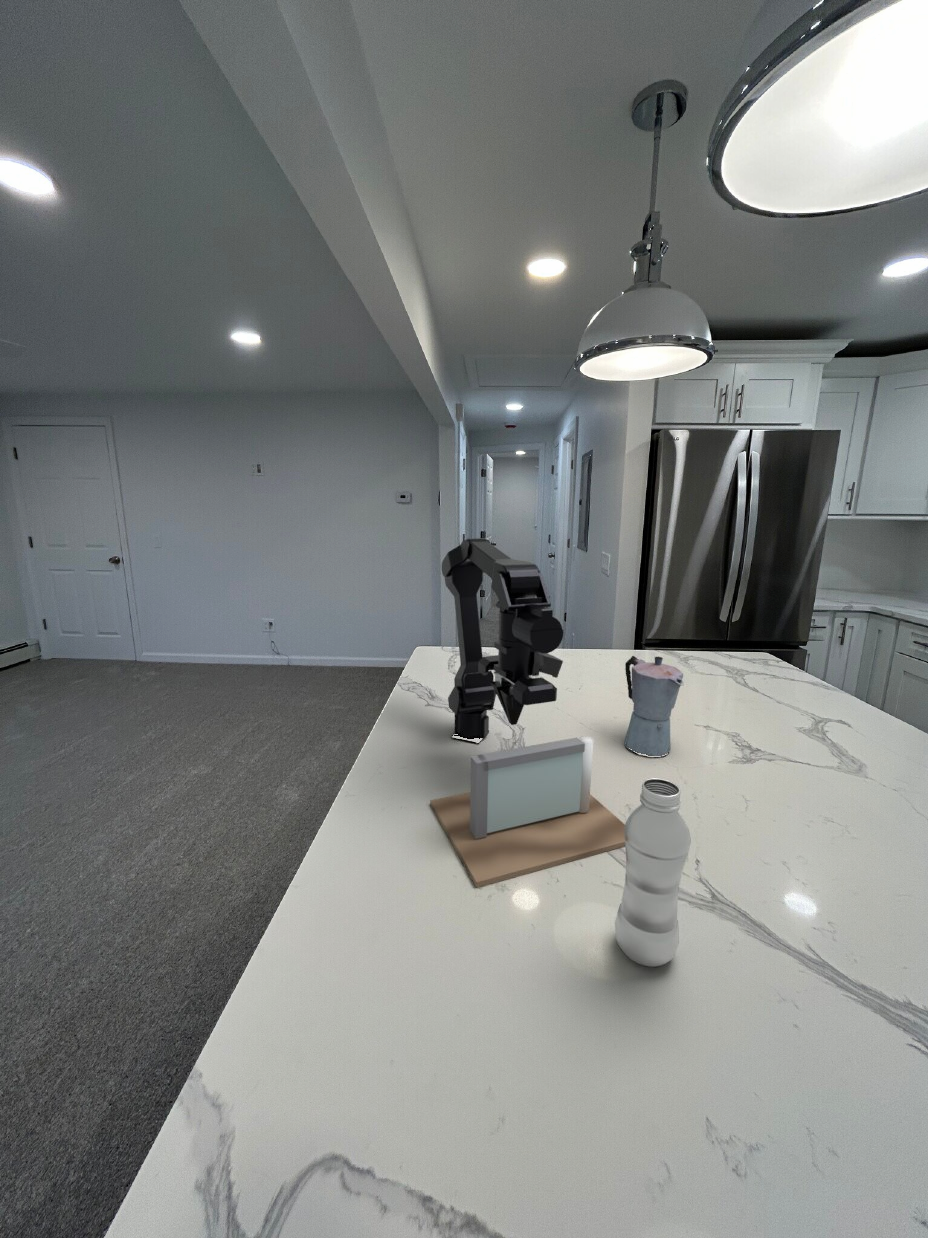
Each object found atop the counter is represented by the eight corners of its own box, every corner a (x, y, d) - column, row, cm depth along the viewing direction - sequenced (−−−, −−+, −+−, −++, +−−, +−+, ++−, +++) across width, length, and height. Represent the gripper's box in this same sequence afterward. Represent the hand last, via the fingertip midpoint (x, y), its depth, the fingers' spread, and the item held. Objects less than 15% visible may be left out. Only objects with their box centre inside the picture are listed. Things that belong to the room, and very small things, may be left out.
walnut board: (430, 804, 83) (430, 800, 83) (565, 776, 92) (565, 772, 92) (476, 888, 65) (476, 882, 65) (639, 842, 74) (639, 837, 74)
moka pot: (658, 769, 95) (668, 668, 91) (601, 737, 108) (607, 648, 104) (692, 759, 99) (703, 662, 95) (633, 729, 113) (640, 643, 108)
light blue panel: (583, 803, 82) (588, 735, 79) (591, 811, 80) (596, 741, 77) (469, 830, 75) (470, 756, 72) (475, 839, 73) (476, 763, 70)
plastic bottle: (604, 928, 59) (617, 772, 54) (660, 925, 59) (676, 770, 55) (626, 979, 52) (642, 806, 48) (688, 974, 53) (710, 803, 49)
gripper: (588, 647, 79) (582, 739, 83) (531, 623, 96) (528, 700, 100) (525, 654, 75) (522, 749, 79) (477, 627, 92) (476, 707, 96)
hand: (513, 724), depth 88 cm, fingers closed
